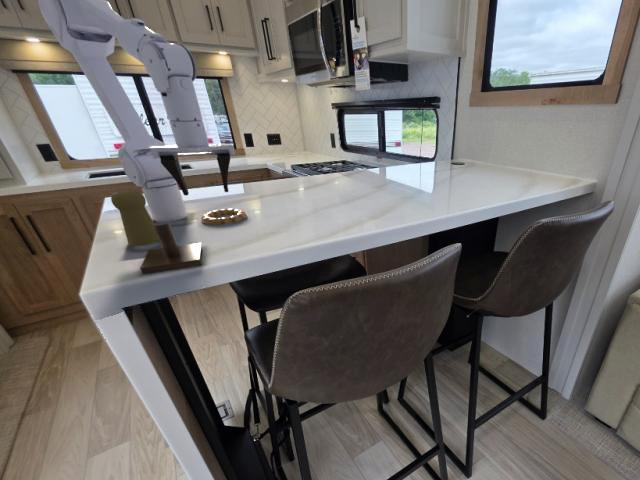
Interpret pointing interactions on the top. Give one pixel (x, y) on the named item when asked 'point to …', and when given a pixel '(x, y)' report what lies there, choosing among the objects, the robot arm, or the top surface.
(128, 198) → the cork
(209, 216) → the ring
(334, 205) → the top surface
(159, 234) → the holder
